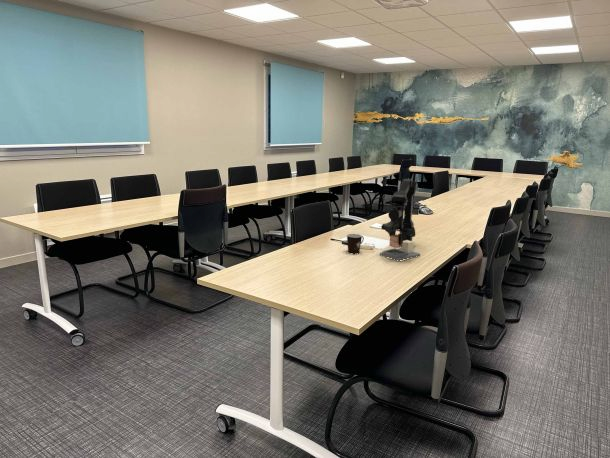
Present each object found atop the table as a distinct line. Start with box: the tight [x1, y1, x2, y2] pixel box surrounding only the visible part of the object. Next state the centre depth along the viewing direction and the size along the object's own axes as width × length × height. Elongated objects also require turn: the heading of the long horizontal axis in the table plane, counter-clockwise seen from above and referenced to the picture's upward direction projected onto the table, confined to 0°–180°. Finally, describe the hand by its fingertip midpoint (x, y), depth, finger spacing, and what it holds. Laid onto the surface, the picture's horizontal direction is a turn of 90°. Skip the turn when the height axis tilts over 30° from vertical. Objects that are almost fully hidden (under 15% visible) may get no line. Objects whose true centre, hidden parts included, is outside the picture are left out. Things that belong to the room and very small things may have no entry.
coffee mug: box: [346, 233, 365, 255], centre depth 244 cm, size 12×9×10 cm
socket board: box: [379, 240, 421, 262], centre depth 239 cm, size 18×14×8 cm
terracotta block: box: [389, 233, 403, 249], centre depth 236 cm, size 5×5×6 cm
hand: (396, 244), depth 236 cm, fingers closed on terracotta block, 5 cm apart
